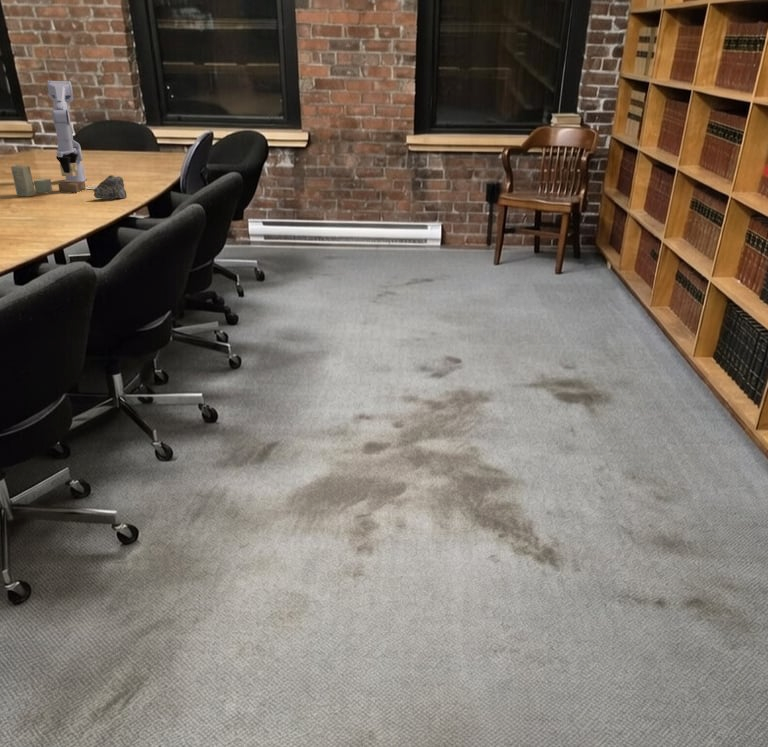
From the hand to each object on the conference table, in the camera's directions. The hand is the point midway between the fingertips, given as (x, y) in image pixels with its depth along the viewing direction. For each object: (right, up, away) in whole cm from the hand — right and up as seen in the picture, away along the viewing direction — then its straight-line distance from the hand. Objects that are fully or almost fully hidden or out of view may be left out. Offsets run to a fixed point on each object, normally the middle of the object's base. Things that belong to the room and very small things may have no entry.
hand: (69, 171), depth 292 cm
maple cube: (0, -1, +1) cm, 2 cm away
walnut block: (0, -8, +4) cm, 9 cm away
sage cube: (-11, -9, 0) cm, 14 cm away
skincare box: (-15, -13, -9) cm, 22 cm away
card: (+6, -4, +12) cm, 14 cm away
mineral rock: (+21, -14, -6) cm, 26 cm away
